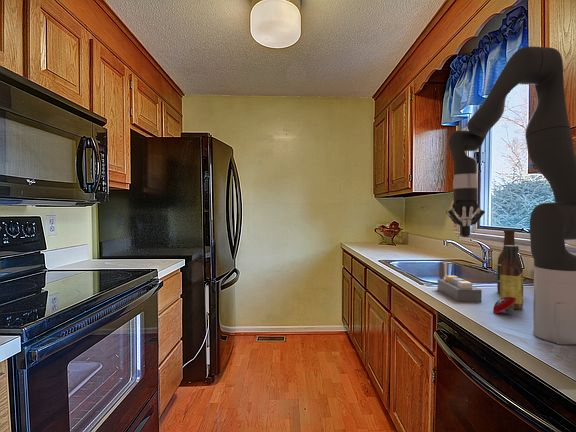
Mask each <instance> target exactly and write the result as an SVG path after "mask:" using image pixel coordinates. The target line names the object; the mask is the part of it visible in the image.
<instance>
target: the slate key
mask: <svg viewBox="0 0 576 432" xmlns="http://www.w3.org/2000/svg"><path fill="white" fill-rule="evenodd" d="M458 281H466V280H465V279H463V278H460V277H459V278H451V284H453V285H458Z"/></svg>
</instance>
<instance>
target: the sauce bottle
mask: <svg viewBox="0 0 576 432" xmlns="http://www.w3.org/2000/svg"><path fill="white" fill-rule="evenodd" d="M503 247H504V261H503V263H502V264H501V266H500V293H499V297H500V298H499V300H500V299H502V298H504V297H513V298H516V301H515V303H514V304H513V305H511V306H510V307H511V308H513V309H514V310H521V309H523V306H524V305H523V304H524V270H523V268H522V265H520V262H519V259H518V255H519V250H520V248H519V246H518V245H515V246H514V245H504V244H503Z"/></svg>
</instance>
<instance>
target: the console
mask: <svg viewBox="0 0 576 432" xmlns="http://www.w3.org/2000/svg"><path fill="white" fill-rule="evenodd" d="M437 291H439V292H441V293H443V294H444V295H446V296H448V297H449V298H451V299H454V301H456V302H482V296H483V295H482V292H483V291H482V289H480V288H478V287H476V286H474V285H472V289H461V288H459V287H458V285H453V284H451V282H447V281H446V278H445V279H442V278H440V279H439V278H437Z"/></svg>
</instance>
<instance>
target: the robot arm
mask: <svg viewBox="0 0 576 432" xmlns="http://www.w3.org/2000/svg"><path fill="white" fill-rule="evenodd" d="M563 64H564V63H563V57H562V55H561V52H560V51H559V50H558V49H556V48H553V47H550V46H549V47H547V46H523V47H520V48H518V50H516V51H515V52H514V53H513V54H512V55H511V57H510V58H509V59H508V60H507V62H506V64H505V65H504V67H503V69H502V71H501V72H500V74H499V75H498V78H497V79H496V81H495V82H494V84H493V86H492V88H491V90H490V91H489V94H488V95H487V96H486V97H485V99H484V101H483V103H482V104H481V105H480V106H479V107H478V109H477V110H476V111H475V113H473V115H472V116H471V117H470V119H469V120H468V121H467V124H466V129H467V130H463V129H462V130H460V129H458V130H454V131H453V132H452V133H451V134H450V136H449V138H448V146H449V147H448V148H449V152H450V154H451V157H452V161H453V168H454V169H453V173H454V174H453V182H452V183H453V185H452V189H453V190H452V191H453V192H452V194H453V195H452V196H453V199H452V201H453V203H452V205H451V208H450V209H447V210H446V211H445V214H446V215H447V216H448V217H449V218H450V219H451V221H452V222H453V223H454V224H455V225H456V226H457V225H458V226H459V235H460V236H461V237H462V238H469V236H470V235H471V226H473V225H476V224H477V223H478V221H480V219H482V216H484V214H485V212H486V211H485V210H483V209H481V208H480V207H479V204H478V176H477V171H478V170H477V169H478V167H477V166H478V165H477V159H476V158H474V157H472V156H469V155H467V153H466V152H473V151H477V150H478V149H480V147H482V146H483V144H484V141H485V139H486V137H487V135H488V133H489V132H490V130H491V129H492V128H493V127H494V126H495V125H496V124H497V123H498V122H499V121H500V119H501V118H502V116H503V114H504V111H505V107H506V99H507V97H508V95H509V94H510V93H511V91H512V90H513V89H514V88H516V86H518V85H528V86H529V85H530V86H533V88H534V90H535V93H536V106H535V109H534V111H533V113H532V115H531V117H530V119H529V121H528V122H527V125H526V129H525V132H524V133H525V135H524V136H525V142H526V148H527V154H528V157H529V159H530V161H531V162H532V163H533V165H534V166H535V168H536V169H537V170H538V171H539V173H540V174H541V175H542V176H543V177H544V178H545V180H546V181H547V182H548V184H549V186H550V188H551V190H552V193H553V199H554V201H549V202H548V201H546V202H541V203H538V204H536V205H535V207H534V208H533V209H532V211H531V214H530V218H529V237H530V241H529V242H530V252H531V255H532V258H533V260H534V261H533V265H534V267H533V316H532V317H533V318H532V319H533V321H532V322H533V327H532V328H533V329H532V331H533V332H532V333H533V335H534V336H535V337H537V338H539V339H542V340H544V341H547V342H551V343H554V344H557V345H576V255H575V254H573V253H571V252H570V251H568V250H567V247H566V242H565V241H574V240H575V241H576V152H575V145H574V139H573V134H572V128H571V125H570V120H569V117H568V111H567V109H568V107H567V103H566V96H565V85H564V82H565V81H564V65H563Z"/></svg>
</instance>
